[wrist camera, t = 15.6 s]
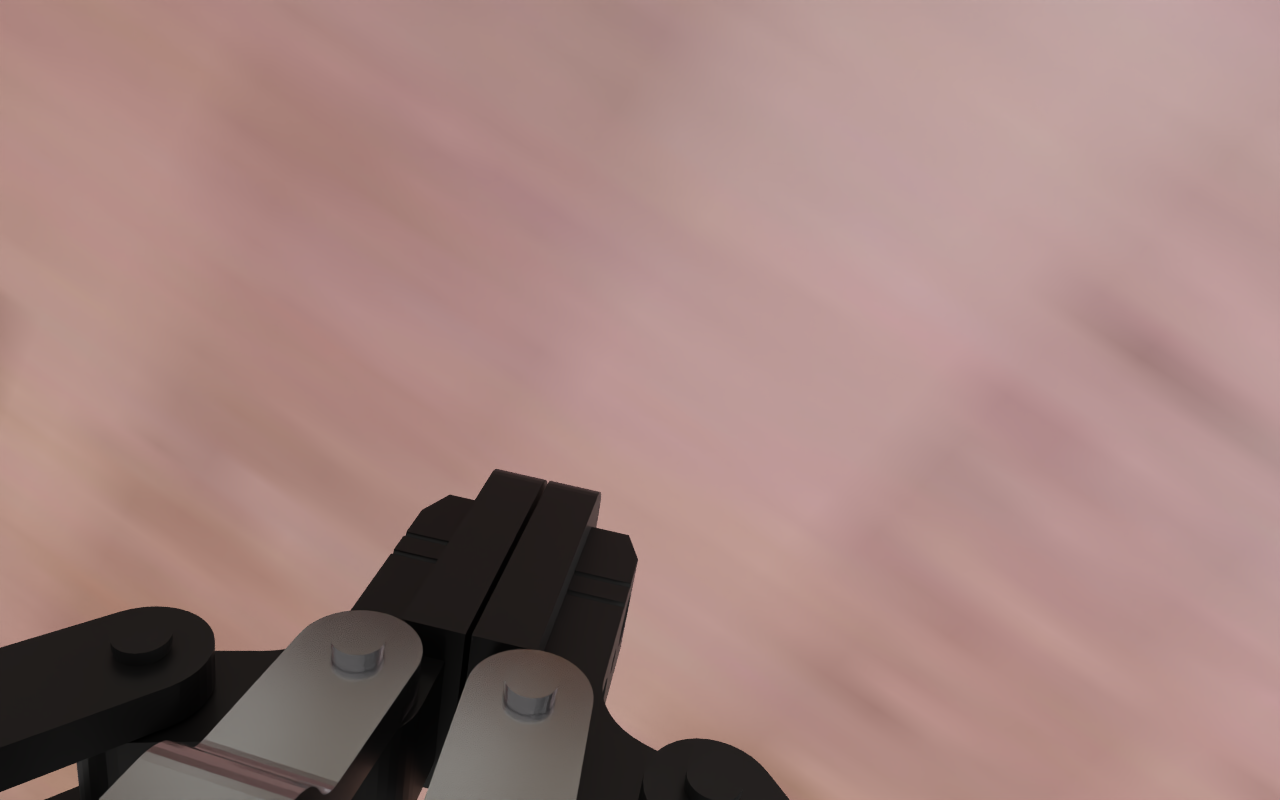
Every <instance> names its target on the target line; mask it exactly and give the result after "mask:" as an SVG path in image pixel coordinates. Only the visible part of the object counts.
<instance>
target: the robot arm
mask: <svg viewBox="0 0 1280 800" xmlns="http://www.w3.org/2000/svg"><path fill="white" fill-rule="evenodd" d="M600 501H601V492H597V491H593V490H589V489H584V488H580V487H575V486H571V485H566V484H562V483H558V482H553V481H549V483H548V484H547V481H546V480H543V479H539V478H535V477H530V476H526V475H521V474H517V473H512V472H508V471H504V470H499V469H495V470H494V471H493V472H492V474H491V475H490V477H489V478H488V480H487V482H486V483H485V485H484V486H483V488H482V490H481V491H480V493H479V494H478V496H477V498H476V499H475V500H471V499H467V498H462V497H458V496H454V495H448V496H447V497H445V498H443V499H441V500H439V501H437V502H436V503H434V504H432V505H430V506H428V507H427V508H425V509H423V510H422V511H421V512H420V514H419V515H418V516H417V518H416V519H415V521H414V522H413V523H412V525H411V526H410V528H409V529H408V530H407V533H406V536H403V537H402V539H401V540H400V542H399V543H398V544H397V546H396V547H395V549H394V552H393V554H390V556H389V557H388V559H387V560H386V561H385V563H384V564H383V566H382V567H381V568H380V570H379V571H378V573H377V574H376V575H375V577H374V578H373V580H372V581H371V582H370V584H369V585H368V587H367V588H366V590H365V591H364V592H363V594H362V595H361V597H360V598H359V599H358V601H357V602H356V604H355V605H354V606H353V608H352V609H351V611H344V612H340V613H335V614H332V615H329V616H326V617H323V618H321V619H319V620H317V621H315V622H313V623H312V624H310V625H309V626H307V627H306V628H305V629H304V630H303V631H302V632H301V633H300V634H299V635H298V636H297V637H296V638H295V639H294V640H293V641H292V642H291V644H290V645H289V646H288V647H287V648H286V649H283V650H275V651H215V638H214V634H213V631H212V629H211V627H210V626H209V625H208V624H207V623H206V622H205V621H204V620H203V619H202V618H200V617H199V616H197V615H195V614H193V613H191V612H188V611H185V610H181V609H177V608H171V607H156V606H155V607H141V608H135V609H129V610H125V611H121V612H118V613H114V614H111V615H108V616H104V617H101V618H98V619H94V620H91V621H88V622H84V623H81V624H78V625H74V626H71V627H68V628H64V629H61V630H58V631H54V632H51V633H48V634H44V635H41V636H38V637H34V638H31V639H28V640H25V641H21V642H18V643H15V644H11V645H8V646H5V647H1V648H0V792H1V791H4V790H7V789H9V788H12V787H14V786H17V785H20V784H22V783H25V782H27V781H30V780H33V779H35V778H38V777H40V776H43V775H46V774H48V773H51V772H53V771H56V770H59V769H61V768H64V767H66V766H69V765H71V764H74V763H77V770H78V781H79V786H78V787H75V788H73V789H70V790H68V791H65V792H63V793H60V794H58V795H55V796H53V797H50V798H48V799H45V800H417V798H418V796H419V794H420V792H421V790H422V787H425V788H428V791H427V794H426V796H425V799H424V800H789V798H788V797H787V796H786V795H785V793H784V792H783V791H782V790H781V788H780V787H779V786H778V785H777V783H776V782H775V781H774V780H773V778H772V777H771V776H770V775H769V773H768V772H767V771H766V770H765V769H764V768H763V767H762V766H761V764H760V763H758V762H757V761H756V760H755V759H753V758H752V757H751V756H750V755H748V754H746V753H745V752H743V751H742V750H740V749H738V748H735V747H733V746H731V745H728V744H725V743H722V742H719V741H714V740H710V739H698V738H696V739H685V740H680V741H676V742H673V743H671V744H668V745H666V746H664V747H663V748H661V749H660V750H658V751H656V750H654V749H652V748H651V747H649V746H647V745H645V744H643V743H641V742H640V741H638V740H637V739H635V738H633V737H632V736H631V735H629V734H628V733H627V732H626V731H624V730H623V729H622V728H621V727H620V726H619V725H618V724H617V723H616V722H615V720H614V719H613V718H612V716H611V715H610V713H609V711H608V709H607V707H606V705H605V702H606V698H607V695H608V691H609V688H610V684H611V680H612V676H613V673H614V669H615V666H616V662H617V658H618V655H619V651H620V647H621V642H622V637H623V632H624V627H625V622H626V617H627V612H628V607H629V602H630V597H631V592H632V587H633V582H634V577H635V572H636V567H637V562H638V558H637V556H636V553H635V550H634V548H633V545H632V542H631V540H630V537H629V535H625V534H621V533H616V532H612V531H608V530H603V529H599V528H596V525H597V520H598V514H599V508H600Z"/></svg>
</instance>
